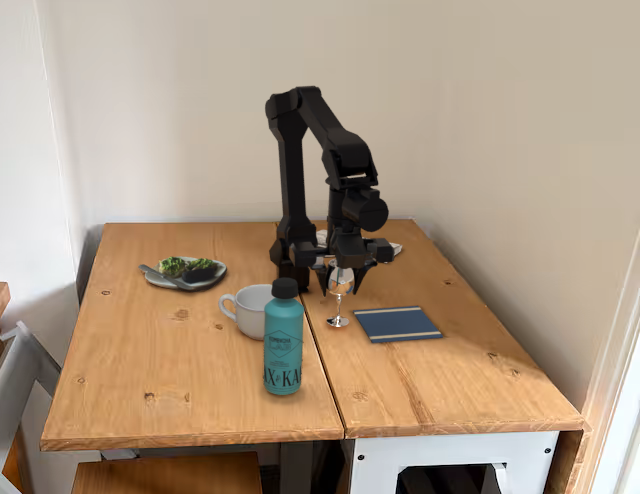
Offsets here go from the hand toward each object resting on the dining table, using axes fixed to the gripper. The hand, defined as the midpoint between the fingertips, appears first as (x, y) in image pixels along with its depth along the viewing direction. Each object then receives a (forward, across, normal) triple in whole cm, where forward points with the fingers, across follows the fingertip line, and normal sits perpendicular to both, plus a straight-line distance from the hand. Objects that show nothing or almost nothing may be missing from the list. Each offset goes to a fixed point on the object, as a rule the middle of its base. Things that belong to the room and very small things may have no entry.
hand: (339, 295), depth 136 cm
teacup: (+7, -16, +1) cm, 18 cm away
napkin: (+7, +12, 0) cm, 14 cm away
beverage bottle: (+7, -15, -22) cm, 28 cm away
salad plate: (+7, -27, +30) cm, 41 cm away
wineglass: (+6, 0, 0) cm, 6 cm away
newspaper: (+7, +15, +43) cm, 46 cm away
